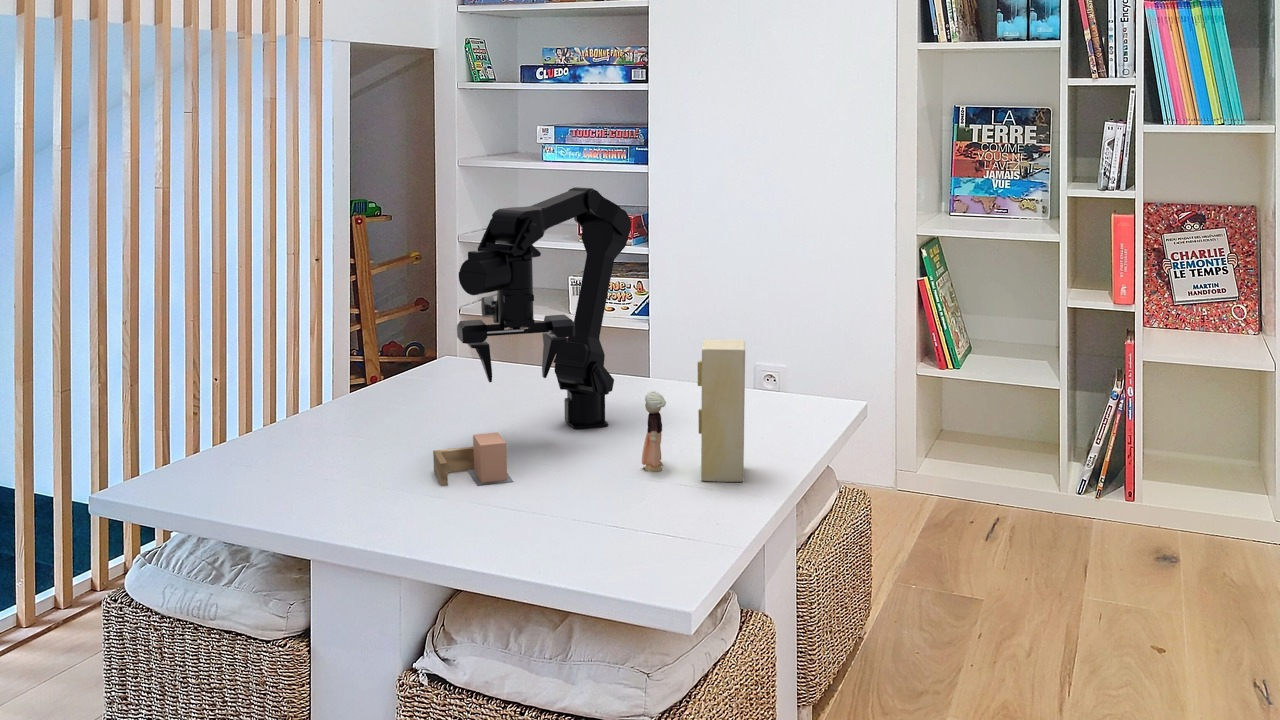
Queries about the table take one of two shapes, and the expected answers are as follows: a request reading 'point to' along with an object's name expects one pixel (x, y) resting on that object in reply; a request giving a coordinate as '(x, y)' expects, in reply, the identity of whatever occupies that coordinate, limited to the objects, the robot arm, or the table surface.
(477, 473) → the terracotta block
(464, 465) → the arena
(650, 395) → the grandmother figurine
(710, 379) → the toy refrigerator
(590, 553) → the table surface
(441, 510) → the table surface
